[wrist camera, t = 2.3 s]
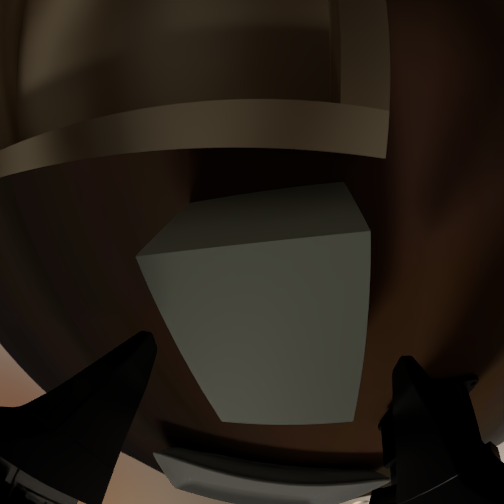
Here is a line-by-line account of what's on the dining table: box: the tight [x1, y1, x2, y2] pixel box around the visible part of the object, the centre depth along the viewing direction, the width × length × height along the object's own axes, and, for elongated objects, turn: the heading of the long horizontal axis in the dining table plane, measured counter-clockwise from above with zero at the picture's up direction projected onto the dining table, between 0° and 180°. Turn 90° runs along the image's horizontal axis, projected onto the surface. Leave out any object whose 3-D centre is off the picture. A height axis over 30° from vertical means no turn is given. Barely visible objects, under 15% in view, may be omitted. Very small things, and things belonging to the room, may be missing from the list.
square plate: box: [153, 447, 391, 504], centre depth 29 cm, size 27×27×4 cm
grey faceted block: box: [136, 182, 371, 425], centre depth 10 cm, size 6×9×4 cm, turn 12°
